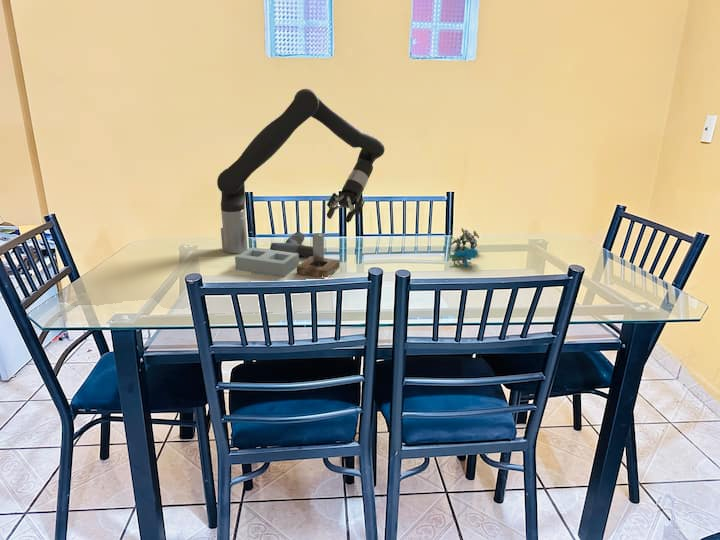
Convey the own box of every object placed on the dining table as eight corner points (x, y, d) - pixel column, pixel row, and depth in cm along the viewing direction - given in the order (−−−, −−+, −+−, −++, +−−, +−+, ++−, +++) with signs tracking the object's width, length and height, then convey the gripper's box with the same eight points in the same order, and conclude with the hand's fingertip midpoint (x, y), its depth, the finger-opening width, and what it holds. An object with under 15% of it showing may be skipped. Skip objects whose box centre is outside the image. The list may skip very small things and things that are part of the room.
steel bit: (311, 272, 181) (310, 235, 176) (315, 268, 184) (315, 232, 179) (321, 273, 179) (321, 236, 174) (325, 269, 183) (325, 233, 178)
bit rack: (235, 269, 182) (234, 256, 180) (252, 259, 192) (252, 247, 191) (284, 276, 176) (283, 263, 174) (299, 265, 186) (298, 253, 185)
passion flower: (471, 263, 208) (482, 246, 199) (447, 258, 208) (456, 241, 198) (471, 242, 215) (481, 225, 205) (447, 237, 214) (456, 220, 204)
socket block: (296, 274, 178) (296, 266, 177) (310, 263, 189) (310, 256, 188) (327, 278, 175) (327, 271, 174) (339, 267, 185) (339, 260, 184)
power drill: (328, 245, 212) (314, 260, 193) (286, 242, 215) (270, 257, 197) (327, 233, 210) (314, 248, 191) (286, 230, 213) (269, 244, 195)
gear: (476, 256, 195) (479, 245, 186) (478, 270, 193) (481, 259, 183) (448, 259, 196) (449, 248, 187) (450, 273, 193) (451, 262, 184)
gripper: (336, 176, 190) (318, 211, 185) (367, 181, 183) (348, 217, 178) (344, 188, 196) (327, 221, 191) (374, 192, 189) (357, 228, 184)
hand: (337, 219), depth 185 cm, fingers open, 8 cm apart
